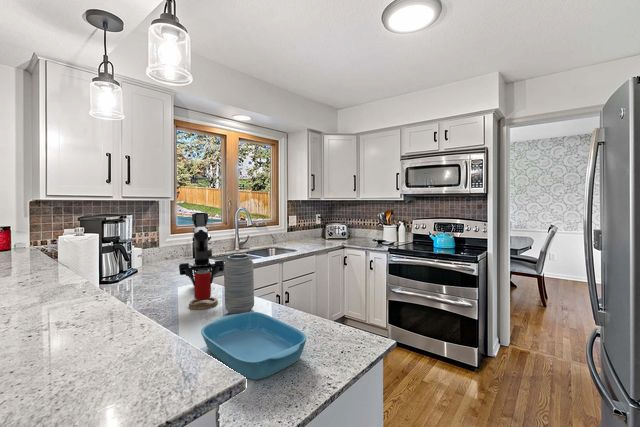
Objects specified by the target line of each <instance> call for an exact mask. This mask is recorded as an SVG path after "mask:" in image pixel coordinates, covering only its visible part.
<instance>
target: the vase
mask: <svg viewBox="0 0 640 427" xmlns="http://www.w3.org/2000/svg"><path fill="white" fill-rule="evenodd" d="M250 257H251V256H250V255H249V254H242V253H241V254H240V253H239V254H238V253H237V254H231V255H228V256H227V259H226V261H224V271H223V273H224V274H223V276H224V277H223V278H224V280H223V281H224V308H225V311H227V312H228V313H229V315H232V314H241V313H246V312H252V310H253V308H254V306H255V277H254V275H255V274H254V261H253V259H251V258H250Z"/></svg>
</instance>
